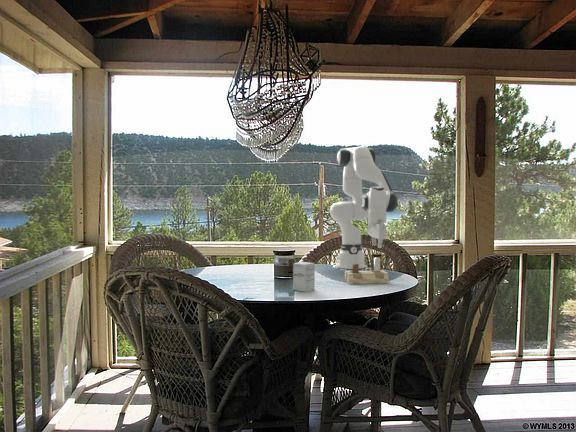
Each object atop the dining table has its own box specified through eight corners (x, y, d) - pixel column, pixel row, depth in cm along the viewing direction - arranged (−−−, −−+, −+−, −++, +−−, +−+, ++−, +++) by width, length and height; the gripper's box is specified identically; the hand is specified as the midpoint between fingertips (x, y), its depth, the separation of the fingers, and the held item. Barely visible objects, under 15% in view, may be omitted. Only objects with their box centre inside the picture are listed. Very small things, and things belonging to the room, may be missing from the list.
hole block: (344, 280, 277) (344, 271, 276) (383, 280, 279) (383, 270, 279) (348, 283, 268) (348, 273, 268) (388, 283, 270) (388, 273, 270)
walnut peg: (351, 281, 274) (351, 263, 274) (357, 281, 274) (357, 263, 274) (353, 282, 271) (353, 264, 271) (359, 282, 271) (359, 264, 271)
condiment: (385, 276, 290) (386, 254, 289) (373, 278, 285) (374, 255, 284) (376, 275, 296) (376, 253, 295) (364, 276, 291) (364, 254, 290)
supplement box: (292, 290, 251) (292, 263, 251) (302, 288, 257) (302, 261, 256) (305, 292, 246) (305, 264, 246) (315, 289, 252) (315, 262, 252)
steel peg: (373, 281, 275) (373, 257, 275) (379, 281, 276) (379, 257, 275) (374, 282, 272) (374, 258, 272) (380, 282, 273) (380, 258, 272)
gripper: (389, 220, 263) (389, 249, 263) (377, 217, 283) (377, 244, 284) (376, 220, 262) (376, 249, 263) (366, 217, 282) (365, 244, 283)
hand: (377, 246), depth 273 cm, fingers open, 8 cm apart
